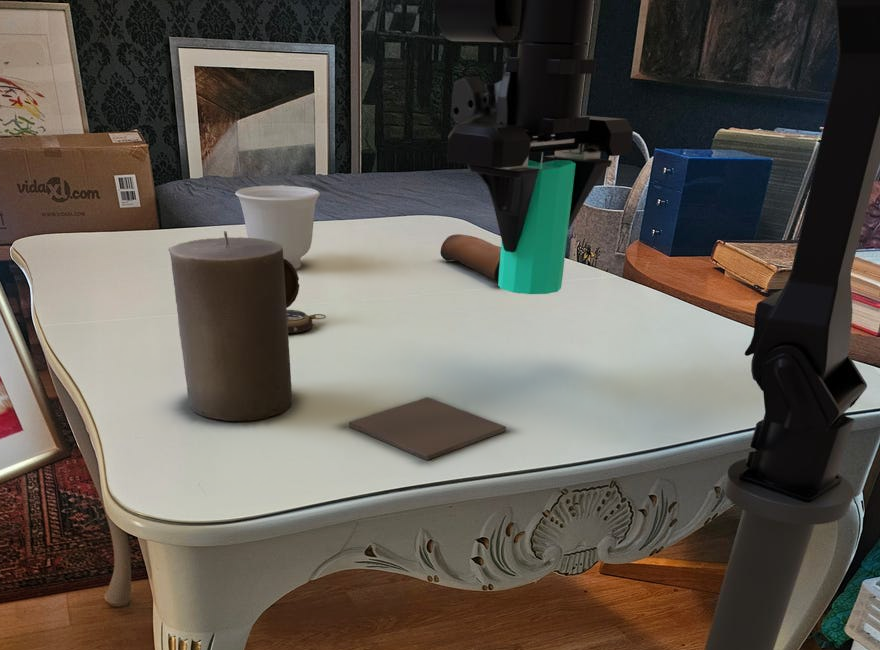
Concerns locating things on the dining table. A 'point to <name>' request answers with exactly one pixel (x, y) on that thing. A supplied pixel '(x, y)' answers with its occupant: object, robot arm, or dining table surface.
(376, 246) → the dining table surface
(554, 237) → the candle
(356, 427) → the mat
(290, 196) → the teacup
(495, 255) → the sunglasses case
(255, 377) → the pillar candle
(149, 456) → the dining table surface
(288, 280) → the compass
